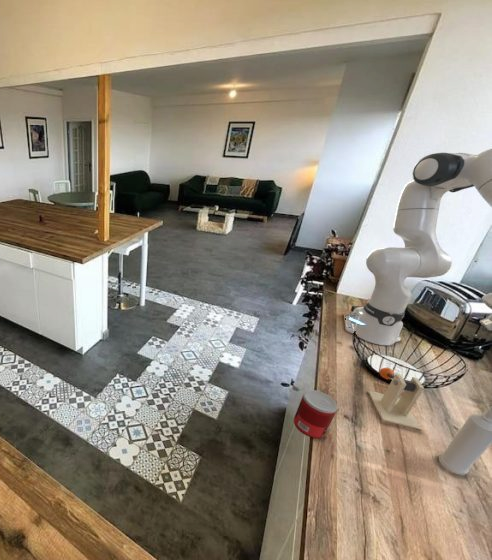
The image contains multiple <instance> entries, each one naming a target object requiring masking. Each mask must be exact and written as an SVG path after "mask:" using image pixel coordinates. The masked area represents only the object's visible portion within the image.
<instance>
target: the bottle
mask: <svg viewBox="0 0 492 560" xmlns="http://www.w3.org/2000/svg"><path fill="white" fill-rule="evenodd" d="M491 445H492V405H490V406H489V408H488V409H487V410H486V412H485V413H481V414H478V413H472V414H470V415H469V417H468V418H467V419H466V421H465V422H464V424H463V425H462V427H461V428H460V429H459V430H458V432H457V433H456V435H455V436H454V438H453V439H452V441H451V442H450V444H449V445H448V446H447V448H446V449H445V450H444V452H443V453H441V454H440V455H439V456H438V461H439V463H440V464H441V465H442V466H443V467H444V468H445V469H446V470H448V471H450V472H452V473H454V474H457V475H459V476H466V475H467V474H468V473H469V471H470V468H471V467H472V466H473V465H474V464H475V462H477V460H478V459H479V458H480V457H481V456H482V455H483V454H484V453H485V452H486V450H488V448H490V446H491Z"/></svg>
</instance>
